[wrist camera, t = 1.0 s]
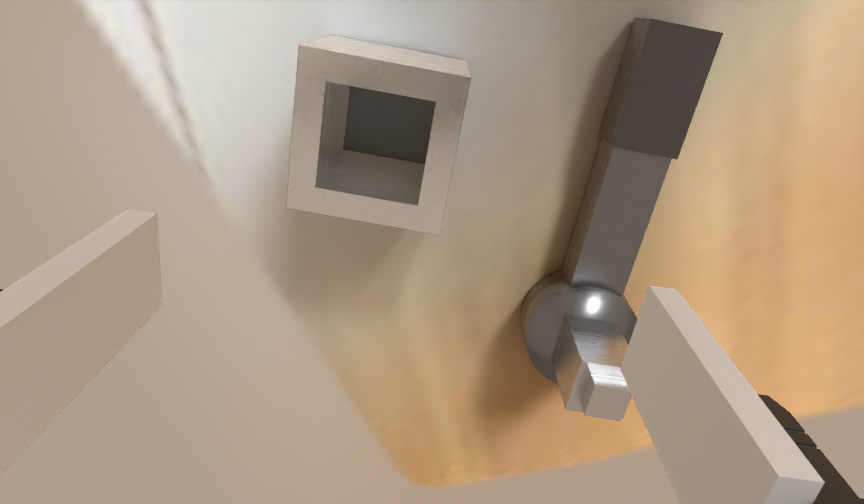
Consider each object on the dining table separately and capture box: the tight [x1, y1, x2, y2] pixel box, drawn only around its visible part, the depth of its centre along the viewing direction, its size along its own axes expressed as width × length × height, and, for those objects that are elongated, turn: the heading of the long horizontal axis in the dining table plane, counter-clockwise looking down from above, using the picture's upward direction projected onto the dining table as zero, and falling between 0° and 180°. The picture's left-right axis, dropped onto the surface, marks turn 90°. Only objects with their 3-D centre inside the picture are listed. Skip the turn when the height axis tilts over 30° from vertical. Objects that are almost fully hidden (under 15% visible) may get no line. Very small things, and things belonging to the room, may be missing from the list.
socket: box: [286, 35, 471, 235], centre depth 27 cm, size 7×7×7 cm
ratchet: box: [521, 17, 723, 421], centre depth 29 cm, size 20×6×8 cm, turn 170°
